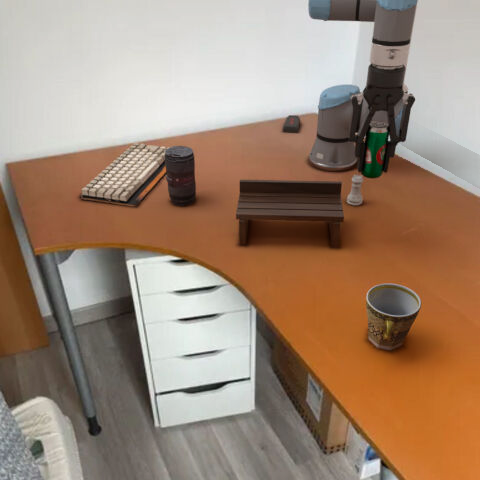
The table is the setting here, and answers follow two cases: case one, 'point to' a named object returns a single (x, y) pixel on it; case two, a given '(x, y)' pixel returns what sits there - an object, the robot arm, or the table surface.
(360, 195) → the rook chess piece
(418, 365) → the table surface
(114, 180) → the mechanical keyboard
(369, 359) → the table surface
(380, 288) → the ceramic cup
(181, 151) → the camera lens
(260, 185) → the dark brown wooden bench
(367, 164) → the soda can
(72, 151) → the table surface
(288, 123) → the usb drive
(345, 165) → the robot arm
